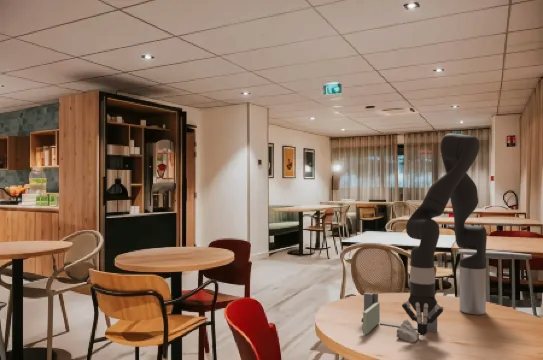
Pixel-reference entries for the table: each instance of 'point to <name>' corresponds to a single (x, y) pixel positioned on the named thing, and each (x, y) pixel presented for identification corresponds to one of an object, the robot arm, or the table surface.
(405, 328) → the stone
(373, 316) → the door
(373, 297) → the door frame
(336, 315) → the table surface
